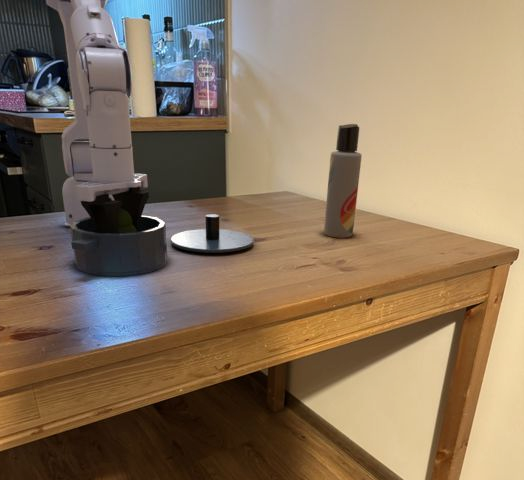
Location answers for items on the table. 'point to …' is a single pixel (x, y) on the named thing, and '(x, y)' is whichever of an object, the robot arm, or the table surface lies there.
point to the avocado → (125, 223)
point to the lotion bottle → (343, 183)
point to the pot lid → (212, 238)
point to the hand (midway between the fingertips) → (120, 242)
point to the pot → (119, 248)
